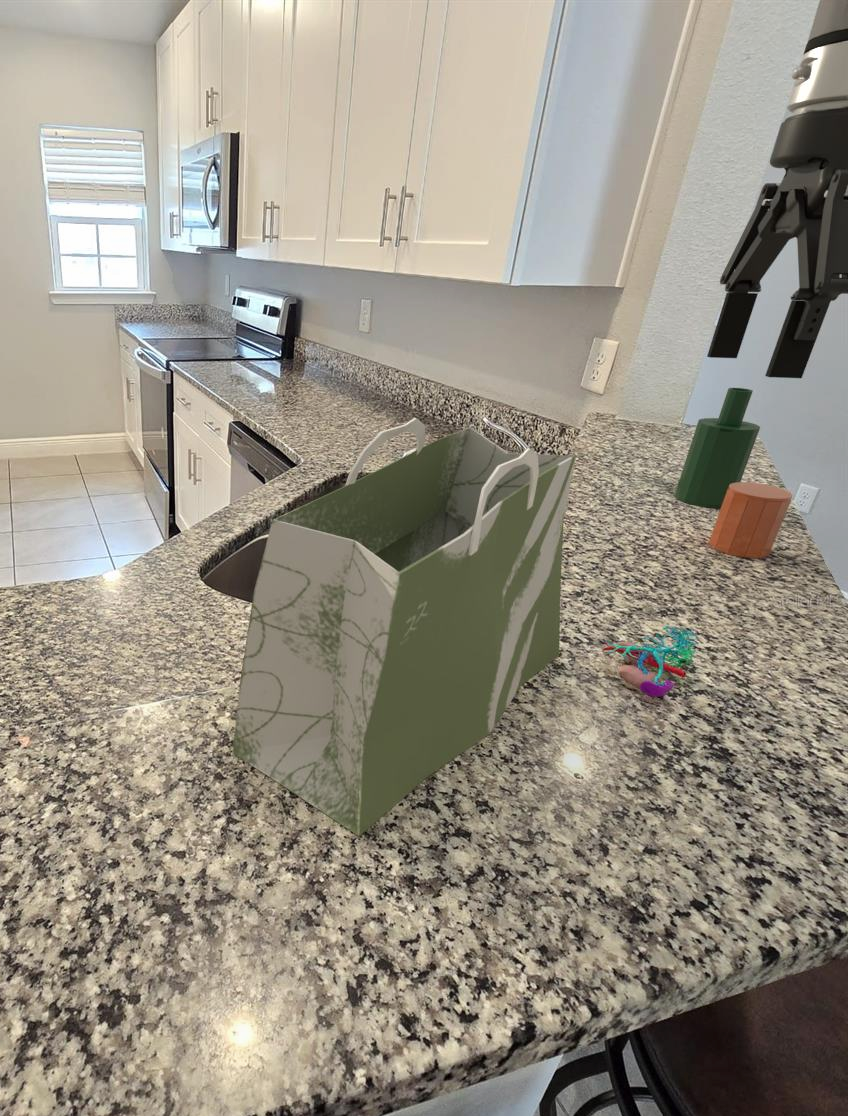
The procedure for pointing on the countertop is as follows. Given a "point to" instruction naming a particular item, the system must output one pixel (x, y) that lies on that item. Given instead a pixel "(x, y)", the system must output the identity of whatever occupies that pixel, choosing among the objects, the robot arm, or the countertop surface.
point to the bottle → (718, 453)
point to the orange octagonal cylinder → (750, 519)
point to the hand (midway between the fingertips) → (749, 366)
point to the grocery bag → (401, 619)
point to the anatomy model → (654, 662)
